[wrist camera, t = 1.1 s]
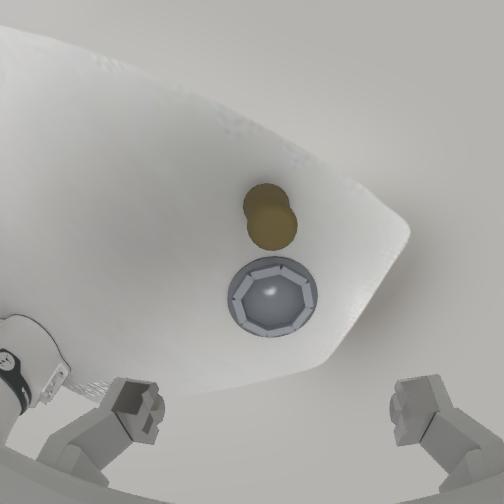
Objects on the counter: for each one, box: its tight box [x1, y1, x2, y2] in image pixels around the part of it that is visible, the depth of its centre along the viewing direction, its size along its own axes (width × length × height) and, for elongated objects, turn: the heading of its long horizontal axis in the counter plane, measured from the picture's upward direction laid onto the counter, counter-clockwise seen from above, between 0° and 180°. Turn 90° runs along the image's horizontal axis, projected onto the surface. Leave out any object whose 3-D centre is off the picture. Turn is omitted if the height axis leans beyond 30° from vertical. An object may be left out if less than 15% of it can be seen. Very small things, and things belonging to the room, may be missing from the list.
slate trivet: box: [228, 257, 318, 338], centre depth 46 cm, size 13×13×2 cm
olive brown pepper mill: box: [243, 184, 298, 251], centre depth 37 cm, size 6×6×11 cm
